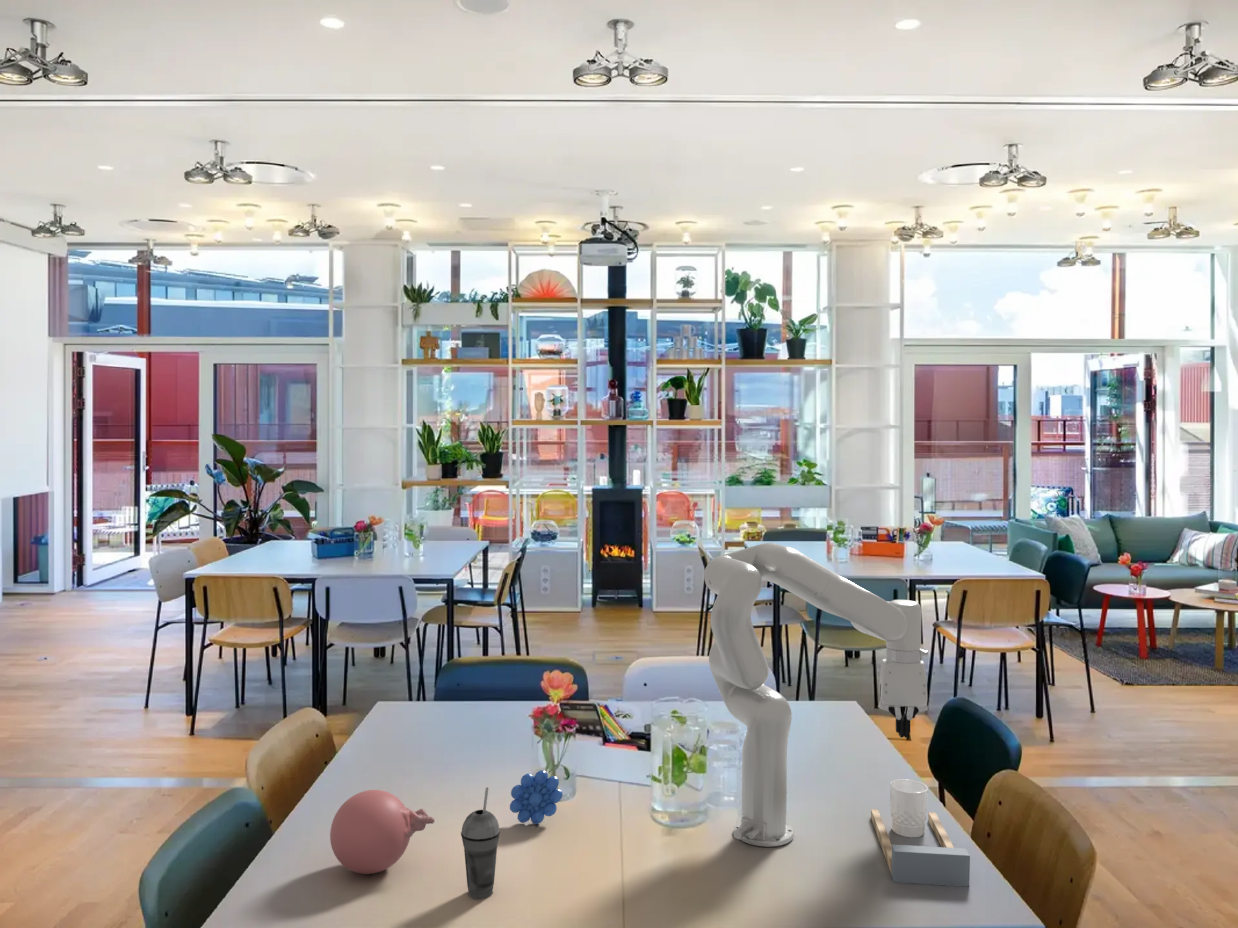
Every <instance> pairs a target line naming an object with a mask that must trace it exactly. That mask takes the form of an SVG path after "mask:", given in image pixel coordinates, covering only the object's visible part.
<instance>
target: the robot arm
mask: <svg viewBox="0 0 1238 928" xmlns="http://www.w3.org/2000/svg"><path fill="white" fill-rule="evenodd" d="M703 579H704V582H705V585H706V587H707V588H708V589H709V591H711V592H712V593H714V594H716V595H717V596H716V598H715V601H714V603H713V606H712V609H711V614H710V628H711V632H712V635H713V638H714V641H715V642H714V643H713V644H712V646H711V647H710V650H709V654H708V663H709V668H710V671H711V674H712V677H713V679H714V681H715V684H716V686H717V689H718V691H719V693H720V694H719V695H720V696H721V698H722V701H723V704H724V705H725V706H726V708H727V710H728V712H729V714H731V716H732V717H733V718H735V719H736V720H738V721H739V722H740V723H742V724H743V725H745V726H746V735H745V737H744V739H743V743H742V749H741V750H742V751H741V752H742V753H741V764H742V765H741V820H739V821H737V822H736V823H735V825H734V826H733V830H734V831H733V832H732V833H733V837H734V838H735V839H737V840H740V841H741V842H743V843H746V844H749V845H752V846H757V847H767V848H771V847H772V848H773V847H780V846H783V845H786V844H789V843H790V842H791V841H792V840H793V839H794V835H795V834H794V829H793V828H792V826H791V825H789V824H788V823H787V802H788V801H787V800H788V799H787V798H788V797H787V796H788V792H787V787H788V745H789V743H788V742H789V736H790V735H789V734H790V730H791V725H792V720H793V719H792V718H793V717H792V715H793V713H792V709H791V706H790V704H789V702H788V701H787V699H786V698H785V697H784V695H782V694H781V693H779V692H778V691H776V690H775V689H773V688H771V687H769V686H768V685H765V684H766V682H767V680H768V678H769V671H770V670H769V664H768V660H767V658H766V655H765V653H764V651H763V649H762V646H761V643H760V641H759V638H758V636H757V634H756V631H755V629H754V625H753V622H752V610H753V607H754V605H755V604H756V603H755V602H756V600H757V599H758V597H759V595H760V594H761V592H762V587H763V586H762V585H763V582H765V581H766V582H769V583H772V584H775V585H777V586H779V587H781V588H782V589H784V590H786V591H788V592H789V593H791V594H793V595H795V596H797V597H798V598H800V599H802V600H803V601H805V602H807V603H808V604H810V605H812V606H813V607H816V608H817V609H819V610H821V611H823V612H826V613H828V614H831V615H833V616H836V617H839V618H842V619H845V620H847V621H849V622H850V623H851V625H852V627H853V628H854V629H856V630H857V631H859V632H860V633H862V634H865V635H867V636H871V637H874V638H877V639H879V640H882V641H883V642H884V641H885V645H886V649H885V658H883V659H882V660H881V661H882V662H881V664H880V665H881V666H880V671H879V673H880V674H879V683H878V684H879V685H878V697H879V702H878V708H879V709H880V710H882V711H885V712H889V713H890V714H891V715H892V716H893V717H894V718H895V732H896V733H897V734H898V735H899V738H905V739H907V738H908V737H909V735H908V734H911V721H912V720H913V717H915V716H916V715H917V714H918V713H922V712H927V711H928V710H929V707H928V685H927V684H928V683H927V674H926V673H927V672H926V668H925V663H924V660H922V659H923V658H925V657H926V658H927V657H928V656H929V655H928V650H924V649H922V607H921V605H920V603H918V602H917V601H915V600H910V599H892V600H890V601H888V600H885V599H884V598H882V597H881V596H878V595H877V594H875V593H872V592H871V591H869V590H866V589H865V588H863V587H861V586H859V585H857V584H856V583H855V582H852V581H851V580H848V579H847V578H846V577H843V576H841V575H839V574H838V573H836V572H834V571H832V570H830V568H828V567H825V566H823V565H821V564H820V563H819V562H817V561H815V560H814V559H812V558H810V557H809V556H807V555H805V554H804V553H802V552H800V551H799V550H797V549H795V548H793V547H790V546H785V545H781V544H778V543H774V542H764V543H761V544H756V545H752V546H749V547H747V548H745V547H744V548H743V549H739V550H736V551H732V552H729V553H724V554H722V555H719V556H716V557H715V558H713V559H712V560H711V561H709V562H708V564H707V565H706V567H705V569H704V574H703ZM901 707H905V710H904V714H903V715H902V712H901Z"/></svg>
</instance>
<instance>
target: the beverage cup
mask: <svg viewBox="0 0 1238 928" xmlns="http://www.w3.org/2000/svg"><path fill="white" fill-rule="evenodd" d="M488 794H489V787H485V791H484V797H483V798H484V800H483V807H482V809H477V810H474V811H472V812H471V813H469V814H468V815H467V816H466V818H465V820H464V821H463V824H462V827H461V831H460V836H461V840H462V845H463V851H464V860H465V861H464V862H465V873H466V874H465V875H466V886H467V890H468V891H467V892H468V893H467V894H468V897H469V898H471V899H473V900H485V899H488V898H489V897H492V895H493V892H494V891H493V890H494V885H495V875H496V874H495V873H496V866H497V865H496V864H497V853H498V852H497V851H498V844H499V841H500V834H501V831H500V830H501V829H500V824H499V822H498V819H497V817H496V816H495V815H494V814H493V813H492V812H491V811H489V810H487V803H488V802H487V801H488V796H489V795H488Z"/></svg>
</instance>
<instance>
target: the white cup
mask: <svg viewBox="0 0 1238 928" xmlns="http://www.w3.org/2000/svg"><path fill="white" fill-rule="evenodd" d="M928 791H929V787H928V786H927V785H926V783H923V782H921V781H918V780H913V779H909V778H908V779H907V778H906V779H905V778H900V779H899V778H898V779H894V780H892V781H891V782H889V795H890V796H889V798H890V799H889V801H890V805H889V806H890V817H891V829H892V831H893V833H895V834H897V835H899V836H901V837H906V838H920V837H923V835H924V834H925V831H926V830H925V827H926V819H927V810H928V809H927V807H928Z"/></svg>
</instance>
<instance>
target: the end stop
mask: <svg viewBox="0 0 1238 928" xmlns="http://www.w3.org/2000/svg"><path fill="white" fill-rule="evenodd" d="M891 845H892V866H891V872H890V874H891V878H892V880H893V882H894V883H904V884H905V883H907V884H921V885H922V884H923V885H935V886H936V885H937V886H940V885H941V886H952V887H953V886H955V887H970V879H971V878H970V876H971V875H970V873H971V871H970V868H971V864H970V863H971V855H970V853H969V852H968V850H967V848H962V847H961V848H959V847H954V848H945V847H941V846H927V845H926V846H924V845H907V844H893V843H891Z"/></svg>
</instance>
